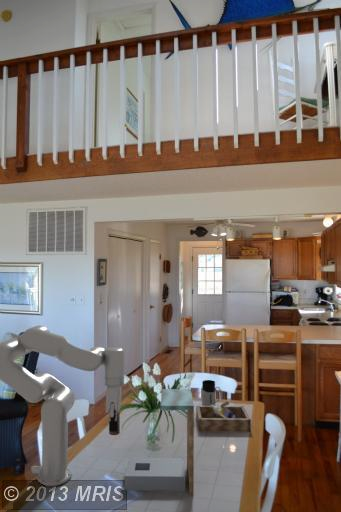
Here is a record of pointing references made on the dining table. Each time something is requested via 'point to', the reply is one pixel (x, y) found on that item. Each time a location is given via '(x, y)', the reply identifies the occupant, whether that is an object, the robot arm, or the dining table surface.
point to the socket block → (155, 474)
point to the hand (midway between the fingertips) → (114, 428)
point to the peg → (118, 424)
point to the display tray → (223, 420)
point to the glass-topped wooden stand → (184, 401)
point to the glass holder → (209, 393)
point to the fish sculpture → (222, 411)
